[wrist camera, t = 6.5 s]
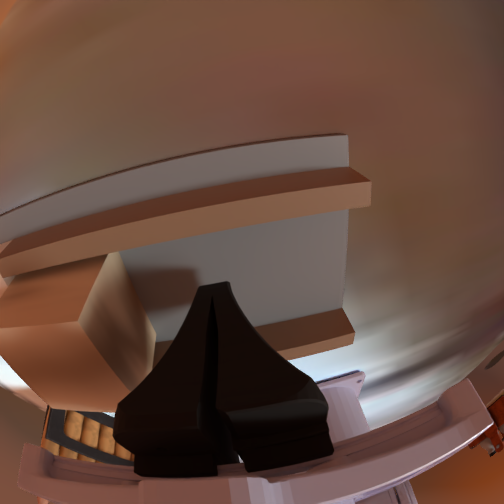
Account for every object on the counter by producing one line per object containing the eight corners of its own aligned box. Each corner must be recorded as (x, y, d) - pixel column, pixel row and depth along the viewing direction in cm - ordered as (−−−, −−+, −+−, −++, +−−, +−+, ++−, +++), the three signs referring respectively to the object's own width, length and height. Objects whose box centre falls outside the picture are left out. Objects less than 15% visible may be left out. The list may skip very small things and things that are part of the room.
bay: (336, 330, 17) (350, 358, 15) (81, 367, 17) (74, 394, 15) (343, 133, 11) (371, 144, 9) (-8, 218, 10) (-33, 241, 8)
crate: (156, 334, 15) (148, 412, 11) (72, 342, 15) (52, 408, 10) (114, 241, 12) (77, 321, 7) (24, 264, 11) (-20, 329, 7)
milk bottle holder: (502, 393, 57) (524, 432, 41) (510, 394, 71) (527, 423, 55) (458, 430, 65) (476, 468, 49) (476, 424, 79) (491, 453, 62)
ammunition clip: (50, 393, 18) (28, 506, 8) (55, 387, 18) (32, 508, 8) (142, 436, 23) (142, 537, 13) (152, 432, 23) (153, 538, 13)
